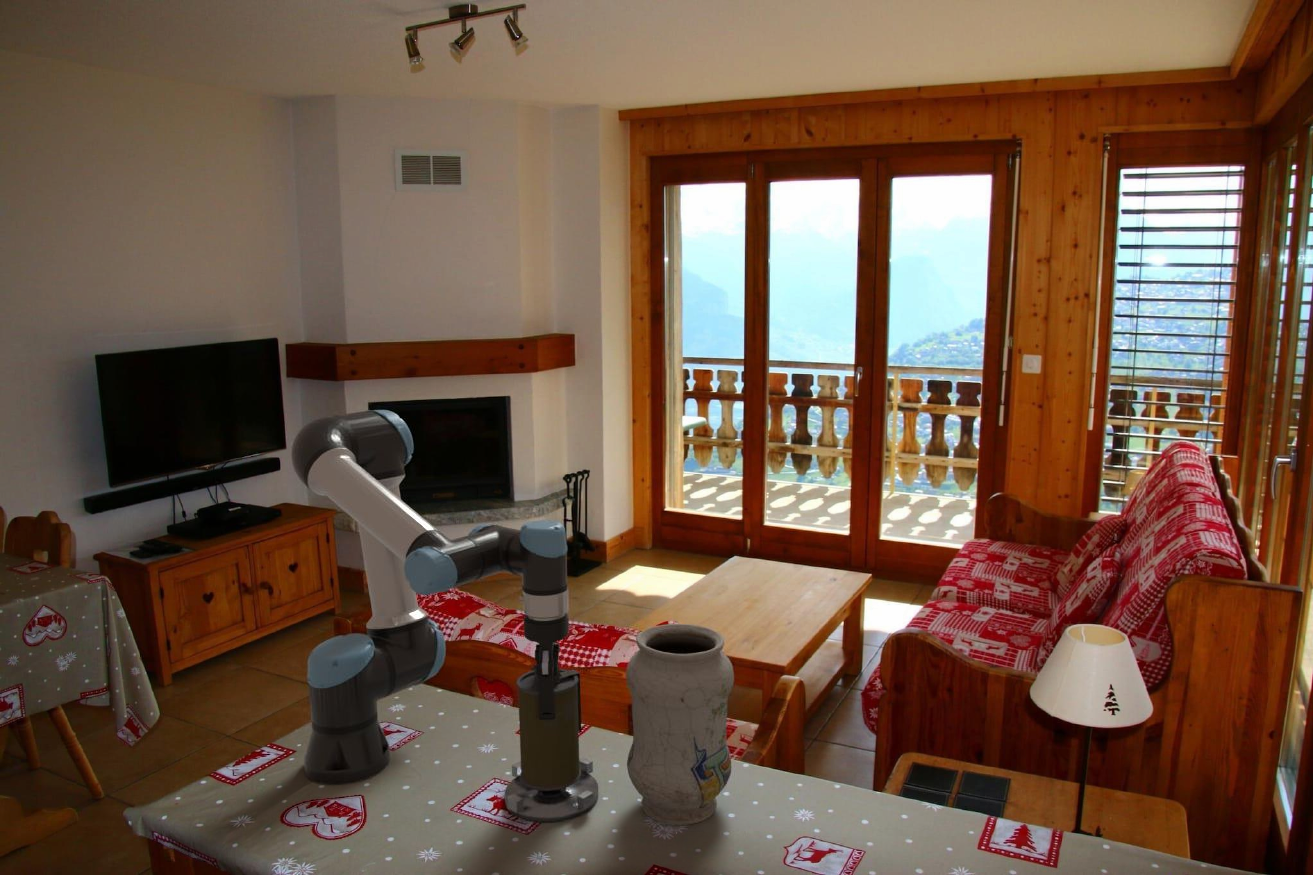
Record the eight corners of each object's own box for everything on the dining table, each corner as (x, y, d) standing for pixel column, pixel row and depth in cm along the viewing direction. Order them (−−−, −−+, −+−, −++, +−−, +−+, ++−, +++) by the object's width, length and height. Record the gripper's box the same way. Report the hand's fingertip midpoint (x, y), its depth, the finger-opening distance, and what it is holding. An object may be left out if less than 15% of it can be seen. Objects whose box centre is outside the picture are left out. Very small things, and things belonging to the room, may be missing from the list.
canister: (535, 797, 157) (531, 682, 154) (510, 771, 166) (505, 661, 163) (594, 779, 163) (591, 667, 160) (566, 755, 172) (563, 648, 169)
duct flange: (478, 801, 164) (477, 782, 164) (554, 762, 177) (553, 744, 177) (549, 838, 153) (548, 818, 152) (624, 793, 166) (624, 774, 165)
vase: (749, 791, 166) (749, 626, 161) (711, 846, 150) (710, 664, 145) (655, 771, 174) (653, 612, 169) (609, 820, 157) (605, 647, 153)
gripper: (528, 596, 169) (532, 720, 173) (518, 634, 151) (523, 771, 154) (570, 595, 169) (574, 718, 173) (566, 632, 151) (570, 769, 154)
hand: (550, 743), depth 163 cm, fingers open, 6 cm apart
